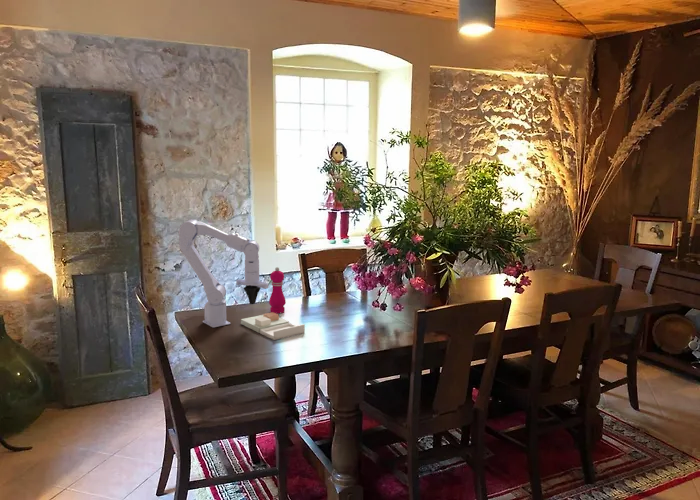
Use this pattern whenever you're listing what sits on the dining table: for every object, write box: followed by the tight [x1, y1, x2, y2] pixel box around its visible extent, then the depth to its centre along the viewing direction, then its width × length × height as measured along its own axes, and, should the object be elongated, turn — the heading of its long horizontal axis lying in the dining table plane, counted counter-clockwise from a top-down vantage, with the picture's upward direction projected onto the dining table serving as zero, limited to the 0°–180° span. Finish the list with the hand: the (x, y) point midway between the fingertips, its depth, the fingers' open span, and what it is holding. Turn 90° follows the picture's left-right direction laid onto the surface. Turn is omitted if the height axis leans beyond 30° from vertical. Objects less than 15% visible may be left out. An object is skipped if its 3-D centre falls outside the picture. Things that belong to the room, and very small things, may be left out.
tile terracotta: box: [262, 312, 280, 321], centre depth 230 cm, size 4×4×2 cm
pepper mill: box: [268, 266, 287, 314], centre depth 246 cm, size 7×7×20 cm
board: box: [240, 314, 290, 334], centre depth 229 cm, size 14×14×2 cm
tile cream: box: [255, 317, 271, 326], centre depth 224 cm, size 4×4×2 cm
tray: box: [259, 322, 306, 341], centre depth 219 cm, size 10×14×4 cm
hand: (252, 303), depth 229 cm, fingers closed
